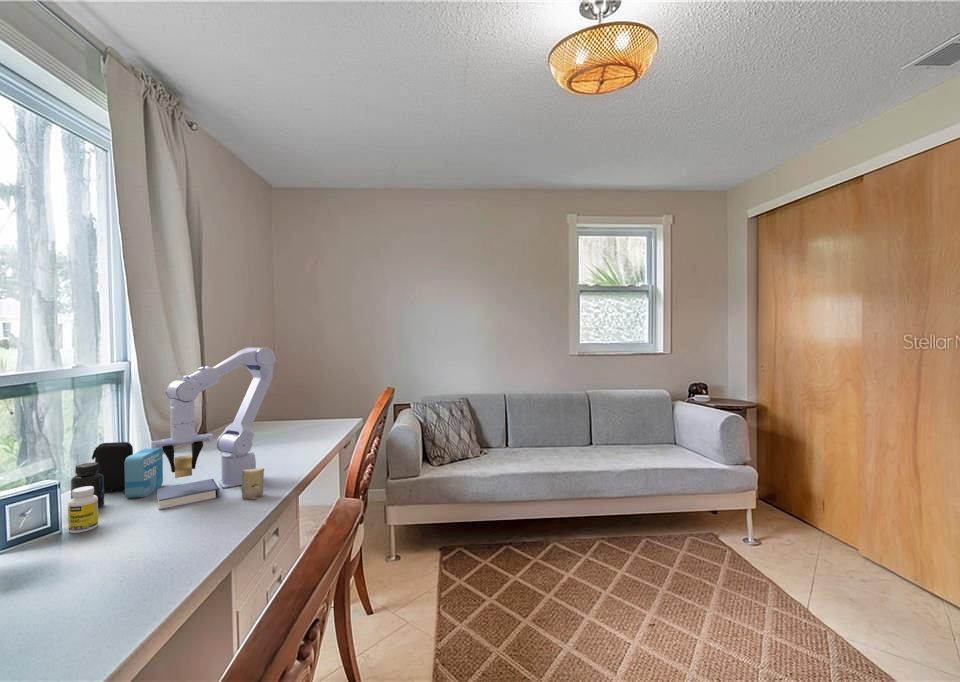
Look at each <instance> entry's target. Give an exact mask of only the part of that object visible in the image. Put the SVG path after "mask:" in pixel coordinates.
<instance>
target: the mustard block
mask: <svg viewBox="0 0 960 682" xmlns="http://www.w3.org/2000/svg"><path fill="white" fill-rule="evenodd" d="M174 465H175V472H174V478H175V479H178V478H184V477H185V478H186V477H189V476H190V477H191V476H193V469H192V454H188V455H181V456H174Z"/></svg>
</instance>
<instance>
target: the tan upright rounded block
mask: <svg viewBox="0 0 960 682" xmlns="http://www.w3.org/2000/svg"><path fill="white" fill-rule="evenodd" d="M264 472H265V468H263V467H261V468H256V469H248V470H243V471H242V473H243V476H242V485H241V497H242V499H243V500H255V499H258V498H261V497H263V495H264V483H265V481H264V478H265V477H264V475H265V474H264Z"/></svg>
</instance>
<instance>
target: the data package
mask: <svg viewBox="0 0 960 682" xmlns="http://www.w3.org/2000/svg"><path fill="white" fill-rule="evenodd" d="M163 453H164V451H163V448H156V449H151V448H144V449H142V450H139V451H137V452H135V453H133V455H130V456H128V457H127V458H126V460H125V491H124V496H125V498H127V499H132V498H133V499H134V498H135V499H136V498H145V497H147V496H148V495H149V494H151V493H152V492H154V491H155V490H156V491H157V489H159V488H161V486H162V485H163V484H164V483H163V482H164V473H163V472H164V467H163V465H164V464H163V463H164V462H163V461H164V460H163Z"/></svg>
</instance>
